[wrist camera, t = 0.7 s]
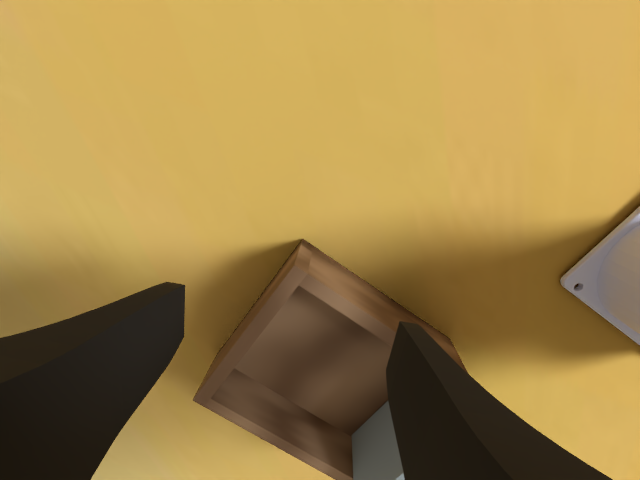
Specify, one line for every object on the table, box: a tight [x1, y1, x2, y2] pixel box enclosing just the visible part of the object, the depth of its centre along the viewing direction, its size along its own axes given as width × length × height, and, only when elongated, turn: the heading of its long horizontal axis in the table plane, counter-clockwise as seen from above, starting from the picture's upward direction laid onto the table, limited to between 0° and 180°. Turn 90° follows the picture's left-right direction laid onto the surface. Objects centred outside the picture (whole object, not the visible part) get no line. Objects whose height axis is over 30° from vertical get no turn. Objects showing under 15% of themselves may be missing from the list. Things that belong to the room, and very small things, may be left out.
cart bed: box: [193, 239, 468, 480], centre depth 21 cm, size 12×11×4 cm
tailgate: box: [351, 401, 405, 480], centre depth 20 cm, size 1×9×5 cm, turn 145°
